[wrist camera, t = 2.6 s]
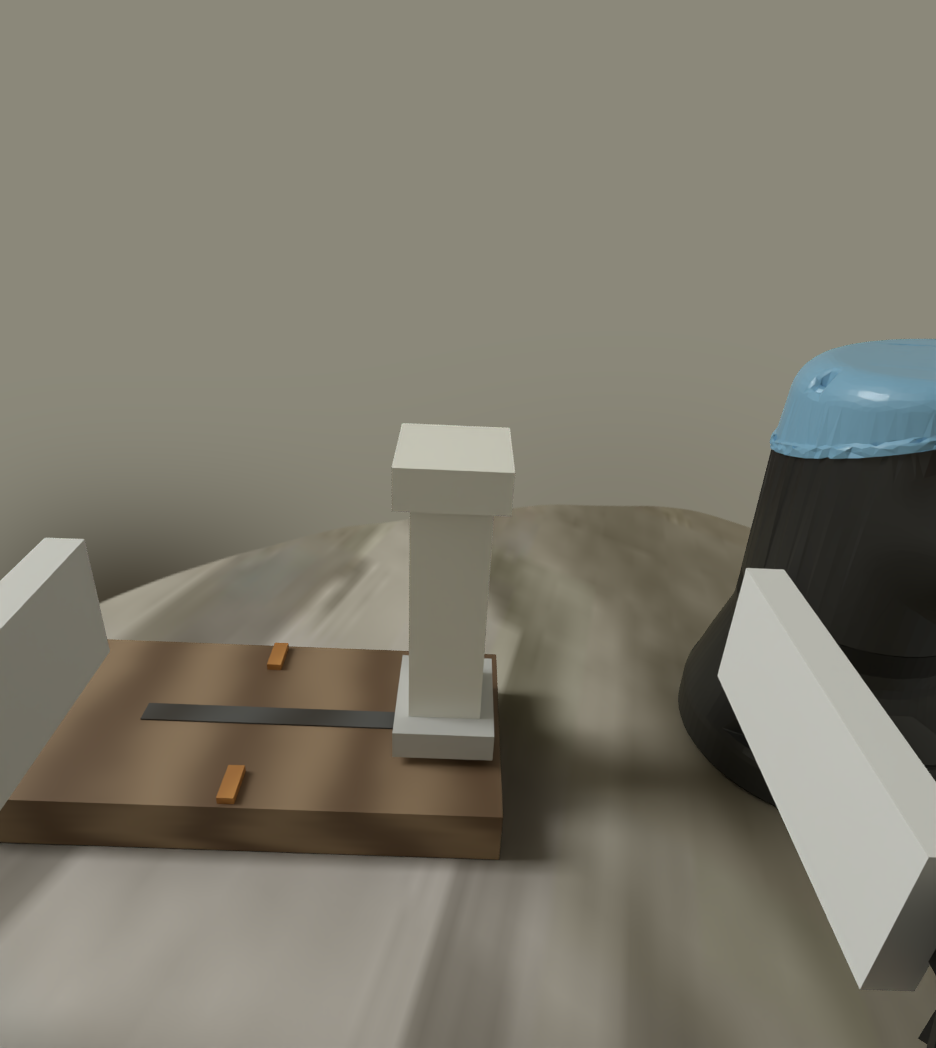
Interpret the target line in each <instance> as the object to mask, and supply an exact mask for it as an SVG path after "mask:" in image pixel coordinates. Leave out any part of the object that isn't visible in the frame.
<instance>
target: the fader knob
mask: <svg viewBox="0 0 936 1048" xmlns="http://www.w3.org/2000/svg"><path fill="white" fill-rule="evenodd" d="M514 480H515V468H514V460H513V451H512V442H511V434H510V428H500V427H477V426H476V427H475V426H454V425H431V424H407V423H402V426H401V430H400V435H399V439H398V443H397V447H396V451H395V456H394V460H393V464H392V511H393V512H410V568H409V655H403V656H402V664H401V671H400V679H399V686H398V694H397V701H396V709H395V716H394V724H393V731H392V757H409V758H436V759H463V760H490V761H492V759H493V747H494V713H493V684H492V659H488V658H484V652H485V637H486V623H487V608H488V594H489V579H490V565H491V550H492V536H493V521H494V516H511V517H512V505H513V504H512V503H513V492H514Z"/></svg>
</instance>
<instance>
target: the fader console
mask: <svg viewBox="0 0 936 1048" xmlns="http://www.w3.org/2000/svg"><path fill="white" fill-rule="evenodd" d="M107 641H108V645H109V649H110V652H109V653H108V655H107V656H106V658H105V659H104V661H103V662H102V664H101V665H100V666H99V668H98V669H97V671H96V672H95V674H94V675H93V677H92V678H91V680H90V681H89V682H88V684H87V685H86V687H85V688H84V690H83V691H82V693H81V694H80V696H79V697H78V698H77V700H76V701H75V703H74V704H73V706H72V707H71V709H70V710H69V712H68V713H67V714H66V716H65V717H64V719H63V720H62V722H61V723H60V725H59V726H58V728H57V729H56V730H55V732H54V733H53V735H52V736H51V738H50V739H49V741H48V742H47V744H46V745H45V746H44V748H43V749H42V751H41V752H40V754H39V755H38V757H37V758H36V760H35V761H34V762H33V764H32V765H31V767H30V768H29V770H28V771H27V773H26V774H25V775H24V777H23V778H22V780H21V781H20V783H19V784H18V786H17V787H16V789H15V790H14V791H13V793H12V794H11V796H10V797H9V799H8V800H7V802H6V803H5V805H4V806H3V807H2V809H1V810H0V842H8V843H37V844H66V845H95V846H123V847H152V848H181V849H209V850H238V851H267V852H295V853H324V854H353V855H381V856H410V857H439V858H468V859H496V860H499V853H500V843H501V832H502V822H503V807H502V783H501V759H500V736H499V712H498V688H497V665H496V655H493V654H484V658H488V659H492V684H493V713H494V747H493V759H492V761H490V760H463V759H436V758H409V757H392V731H393V724H394V716H395V709H396V701H397V694H398V686H399V679H400V671H401V664H402V656H403V655H409V651H391V650H365V649H340V648H314V647H289V646H288V643H275V644H274V646H263V645H237V644H212V643H186V642H161V641H135V640H109V639H107Z"/></svg>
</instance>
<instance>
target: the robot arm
mask: <svg viewBox="0 0 936 1048" xmlns="http://www.w3.org/2000/svg"><path fill="white" fill-rule="evenodd" d="M770 444H771V446H770V447H771V453H770V457H769V461H768V465H767V468H766V472H765V476H764V480H763V485H762V488H761V492H760V496H759V500H758V504H757V508H756V512H755V516H754V519H753V523H752V527H751V531H750V535H749V539H748V543H747V547H746V551H745V555H744V558H743V562H742V567H741V571H740V575H739V578H738V582H737V585H736V589H735V592H734V593H733V595H732V596H731V598H730V599H729V600H728V602H727V603H726V604H725V606H724V607H723V608H722V610H721V611H720V612H719V613H718V615H717V616H716V618H715V619H714V620H713V622H712V623H711V624H710V626H709V627H708V629H707V630H706V632H705V633H704V634H703V636H702V637H701V639H700V640H699V641H698V642H697V644H696V645H695V646H694V648H693V649H692V651H691V652H690V654H689V656H688V659H687V661H686V664H685V668H684V672H683V676H682V680H681V684H680V688H679V695H678V702H679V710H680V714H681V718H682V721H683V723H684V726H685V728H686V730H687V732H688V733H689V735H690V737H691V738H692V740H693V741H694V743H695V744H696V746H697V747H698V748H699V750H700V751H701V752H702V753H703V754H704V755H705V757H706V758H707V759H708V760H709V761H710V762H711V763H712V764H713V765H714V766H715V767H716V768H717V769H719V770H720V771H721V772H722V773H723V774H724V775H726V776H727V777H728V778H729V779H731V780H732V781H733V782H735V783H736V784H738V785H739V786H740V787H742V788H743V789H745V790H747V791H748V792H750V793H751V794H753V795H755V796H757V797H758V798H760V799H762V800H764V801H766V802H768V803H770V804H772V805H774V806H776V807H777V808H778V810H779V812H780V815H781V817H782V819H783V821H784V823H785V826H786V828H787V830H788V832H789V834H790V837H791V839H792V841H793V843H794V845H795V848H796V850H797V852H798V854H799V856H800V859H801V861H802V863H803V865H804V867H805V870H806V872H807V874H808V876H809V878H810V881H811V883H812V885H813V887H814V889H815V892H816V894H817V896H818V898H819V900H820V903H821V905H822V907H823V909H824V911H825V914H826V916H827V918H828V920H829V922H830V925H831V927H832V929H833V931H834V934H835V936H836V938H837V940H838V942H839V945H840V947H841V949H842V951H843V953H844V956H845V958H846V960H847V962H848V964H849V967H850V969H851V971H852V973H853V975H854V978H855V980H856V982H857V984H858V986H859V989H860V990H891V991H915V989H916V988H917V986H918V984H919V982H920V981H921V979H922V977H923V976H924V974H925V972H926V970H927V969H928V967H929V965H930V966H931V967H932V969H933V971H934V973H935V975H936V339H896V340H881V341H871V342H863V343H856V344H851V345H846V346H842V347H838V348H834V349H831V350H829V351H826V352H824V353H822V354H820V355H818V356H816V357H815V358H813V359H812V360H810V361H809V362H807V363H806V364H805V365H804V366H803V367H802V368H801V370H800V371H799V372H798V374H797V375H796V377H795V378H794V381H793V383H792V385H791V388H790V392H789V395H788V398H787V401H786V404H785V407H784V410H783V413H782V416H781V419H780V422H779V425H778V427H777V429H776V430H775V431H774V432H773V433H772V435H771V439H770ZM109 652H110V649H109V645H108V641H107V636H106V632H105V627H104V623H103V619H102V614H101V610H100V605H99V601H98V597H97V593H96V588H95V584H94V579H93V575H92V570H91V566H90V562H89V557H88V553H87V548H86V544H85V540H84V539H64V538H62V539H61V538H44V539H43V540H42V541H41V542H40V543H39V544H38V545H37V546H36V547H35V548H34V549H33V550H32V551H31V552H30V553H29V554H28V555H27V556H26V557H24V558H23V559H22V560H21V561H20V562H19V563H18V564H17V565H16V566H15V567H14V568H13V569H12V570H11V571H10V572H9V573H8V574H7V575H6V576H5V577H4V578H3V579H2V580H1V581H0V810H1V809H2V807H3V806H4V805H5V803H6V802H7V800H8V799H9V797H10V796H11V794H12V793H13V791H14V790H15V789H16V787H17V786H18V784H19V783H20V781H21V780H22V778H23V777H24V775H25V774H26V773H27V771H28V770H29V768H30V767H31V765H32V764H33V762H34V761H35V760H36V758H37V757H38V755H39V754H40V752H41V751H42V749H43V748H44V746H45V745H46V744H47V742H48V741H49V739H50V738H51V736H52V735H53V733H54V732H55V730H56V729H57V728H58V726H59V725H60V723H61V722H62V720H63V719H64V717H65V716H66V714H67V713H68V712H69V710H70V709H71V707H72V706H73V704H74V703H75V701H76V700H77V698H78V697H79V696H80V694H81V693H82V691H83V690H84V688H85V687H86V685H87V684H88V682H89V681H90V680H91V678H92V677H93V675H94V674H95V672H96V671H97V669H98V668H99V666H100V665H101V664H102V662H103V661H104V659H105V658H106V656H107V655H108V653H109ZM918 1039H920V1040H921V1041H923V1042H924V1043H926V1044H927V1048H936V1010H935V1012H934V1013H933V1015H932V1017H931V1018H930V1020H929V1022H928V1023H927V1025H926V1026H925V1028H924V1030H923V1031H922V1033H921V1034H920V1036H919V1038H918Z"/></svg>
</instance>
